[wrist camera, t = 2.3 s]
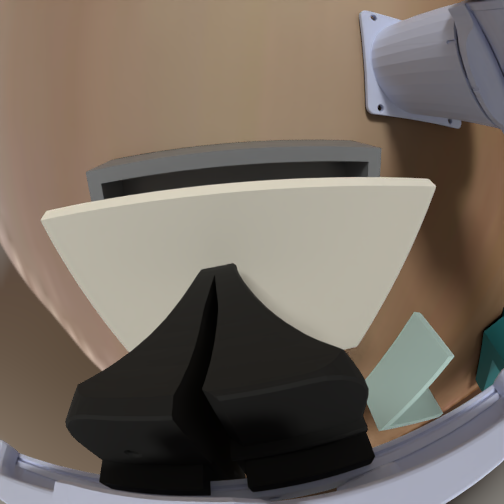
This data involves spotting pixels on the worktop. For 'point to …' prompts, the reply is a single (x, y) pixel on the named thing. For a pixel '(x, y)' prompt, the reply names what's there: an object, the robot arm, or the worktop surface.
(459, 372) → the worktop surface
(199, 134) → the worktop surface
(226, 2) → the worktop surface
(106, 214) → the lid
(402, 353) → the l-shaped corner panel
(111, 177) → the storage box
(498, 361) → the teal stepped block
